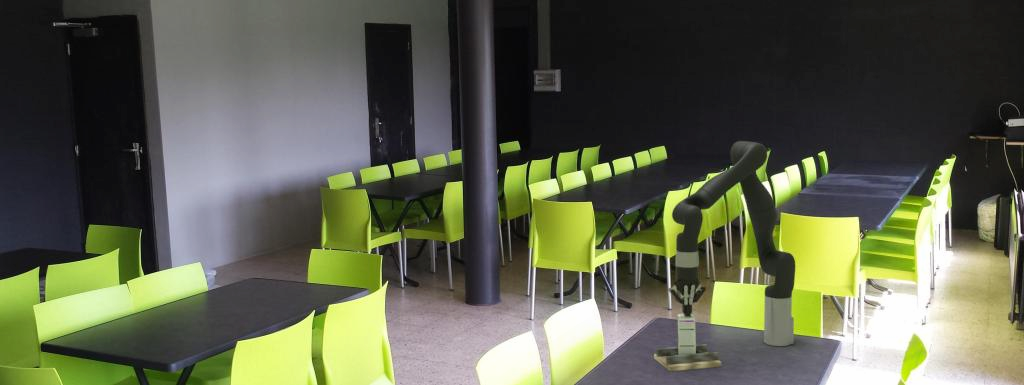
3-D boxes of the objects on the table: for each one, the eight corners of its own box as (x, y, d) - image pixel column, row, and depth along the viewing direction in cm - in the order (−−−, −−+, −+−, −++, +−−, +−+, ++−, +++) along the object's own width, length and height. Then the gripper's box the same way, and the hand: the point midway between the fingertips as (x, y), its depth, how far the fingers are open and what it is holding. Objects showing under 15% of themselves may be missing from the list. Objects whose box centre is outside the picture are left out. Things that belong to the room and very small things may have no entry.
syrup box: (696, 360, 296) (696, 318, 294) (678, 360, 297) (678, 318, 295) (695, 355, 302) (695, 313, 300) (677, 355, 302) (677, 313, 301)
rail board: (703, 353, 308) (703, 342, 308) (721, 366, 294) (721, 354, 294) (654, 358, 304) (654, 346, 304) (669, 371, 291) (669, 359, 290)
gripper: (701, 260, 300) (701, 310, 302) (664, 263, 297) (664, 313, 300) (710, 265, 293) (710, 316, 295) (672, 267, 290) (672, 319, 292)
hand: (687, 315), depth 297 cm, fingers closed
